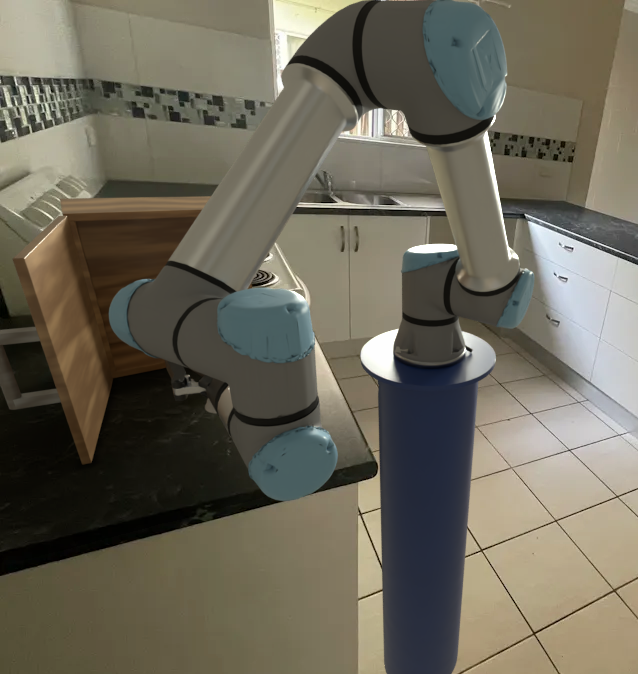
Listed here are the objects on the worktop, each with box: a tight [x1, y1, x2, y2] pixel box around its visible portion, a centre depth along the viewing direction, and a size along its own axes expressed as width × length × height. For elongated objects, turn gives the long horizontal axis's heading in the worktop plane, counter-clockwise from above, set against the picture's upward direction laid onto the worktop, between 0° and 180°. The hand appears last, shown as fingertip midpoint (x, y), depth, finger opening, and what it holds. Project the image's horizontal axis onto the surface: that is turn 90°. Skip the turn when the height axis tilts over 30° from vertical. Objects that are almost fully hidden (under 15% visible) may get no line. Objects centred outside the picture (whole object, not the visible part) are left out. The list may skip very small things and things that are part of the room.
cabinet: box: [59, 195, 253, 379], centre depth 89 cm, size 14×24×28 cm, turn 131°
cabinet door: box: [0, 215, 114, 466], centre depth 65 cm, size 6×24×28 cm, turn 31°
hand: (204, 330), depth 70 cm, fingers closed on chalice, 5 cm apart
